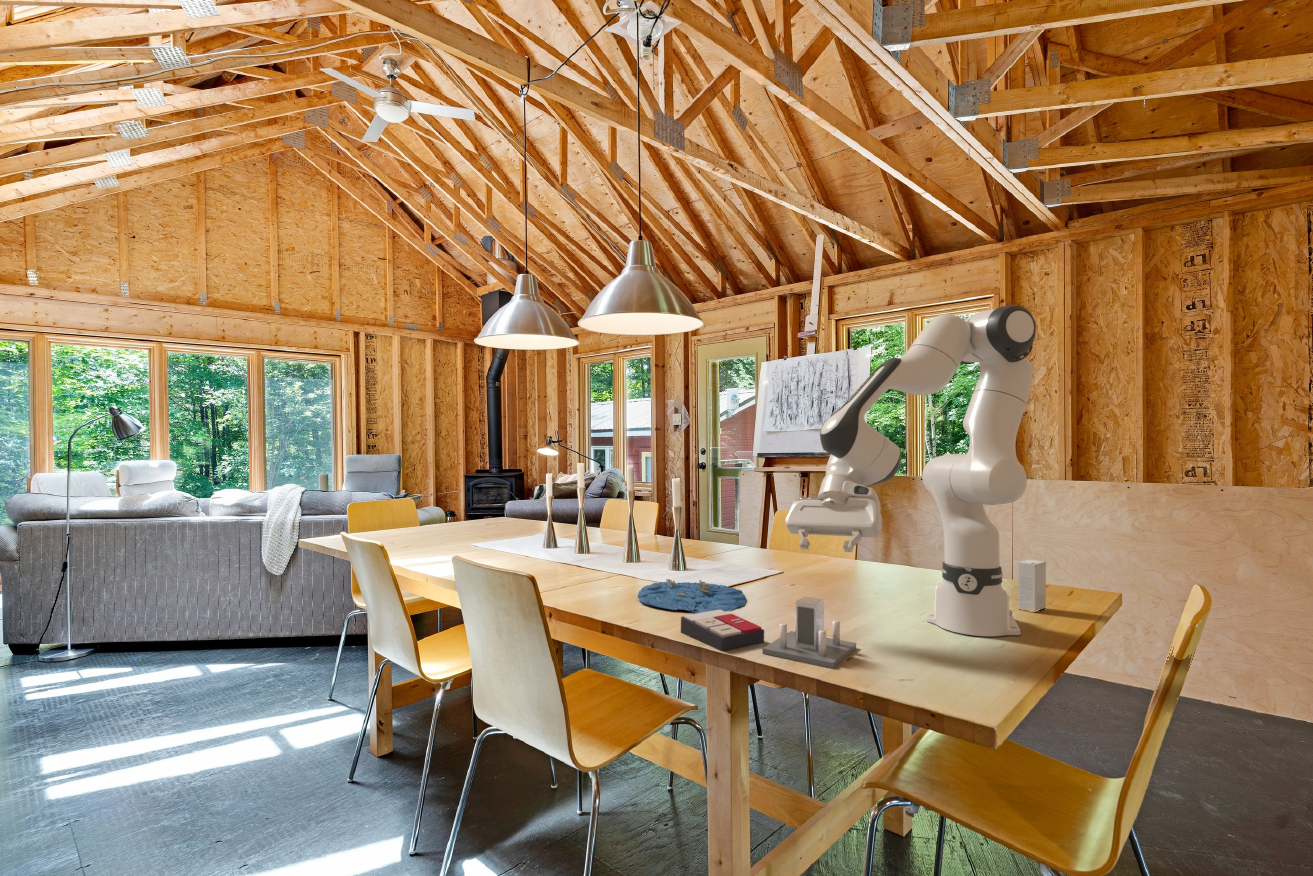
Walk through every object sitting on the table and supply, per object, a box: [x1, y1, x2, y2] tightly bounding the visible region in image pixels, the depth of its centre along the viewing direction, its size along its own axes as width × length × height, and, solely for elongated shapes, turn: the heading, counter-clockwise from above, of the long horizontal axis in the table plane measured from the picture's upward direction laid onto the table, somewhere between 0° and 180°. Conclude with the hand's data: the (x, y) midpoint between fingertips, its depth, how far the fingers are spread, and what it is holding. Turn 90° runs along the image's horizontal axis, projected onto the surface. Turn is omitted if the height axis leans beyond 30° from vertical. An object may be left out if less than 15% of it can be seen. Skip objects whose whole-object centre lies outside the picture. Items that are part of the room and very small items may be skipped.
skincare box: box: [1017, 559, 1047, 611], centre depth 153 cm, size 6×4×12 cm
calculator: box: [680, 609, 765, 652], centre depth 131 cm, size 11×4×15 cm
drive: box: [795, 596, 825, 651], centre depth 122 cm, size 5×4×9 cm
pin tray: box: [761, 614, 857, 669], centre depth 122 cm, size 14×14×6 cm
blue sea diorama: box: [637, 578, 748, 614], centre depth 164 cm, size 30×30×5 cm
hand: (825, 549), depth 128 cm, fingers open, 8 cm apart
